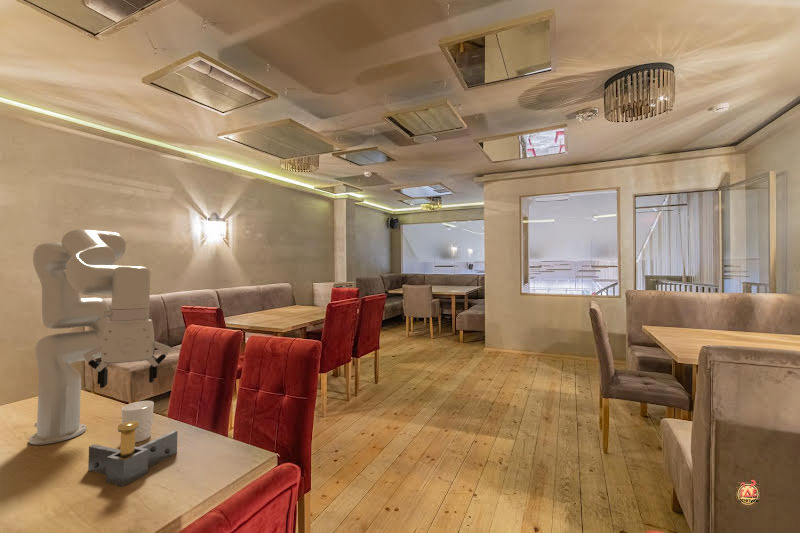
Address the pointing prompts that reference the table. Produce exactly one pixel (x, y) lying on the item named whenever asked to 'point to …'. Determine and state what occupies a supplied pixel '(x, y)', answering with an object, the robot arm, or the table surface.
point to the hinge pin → (127, 438)
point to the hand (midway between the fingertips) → (128, 383)
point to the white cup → (139, 418)
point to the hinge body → (131, 459)
